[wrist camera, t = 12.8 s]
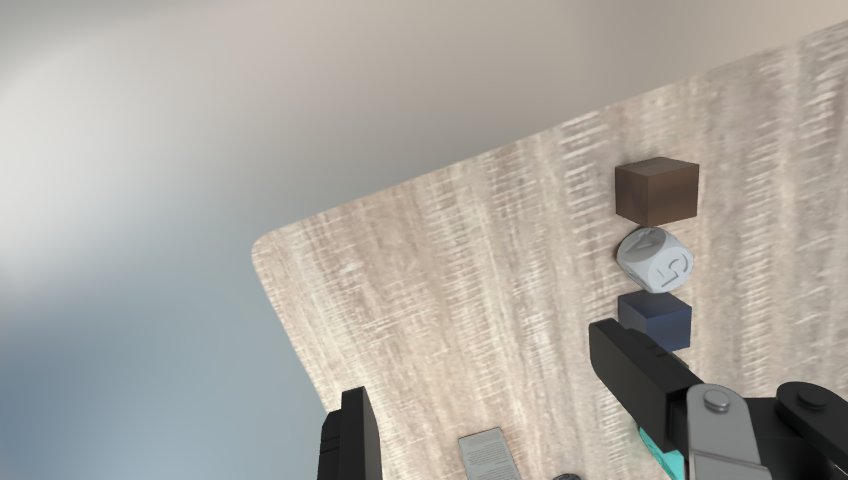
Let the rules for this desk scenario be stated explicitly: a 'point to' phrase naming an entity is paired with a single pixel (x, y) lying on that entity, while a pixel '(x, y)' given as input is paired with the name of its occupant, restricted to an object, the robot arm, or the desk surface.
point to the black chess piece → (567, 477)
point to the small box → (488, 457)
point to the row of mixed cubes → (651, 206)
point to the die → (655, 259)
